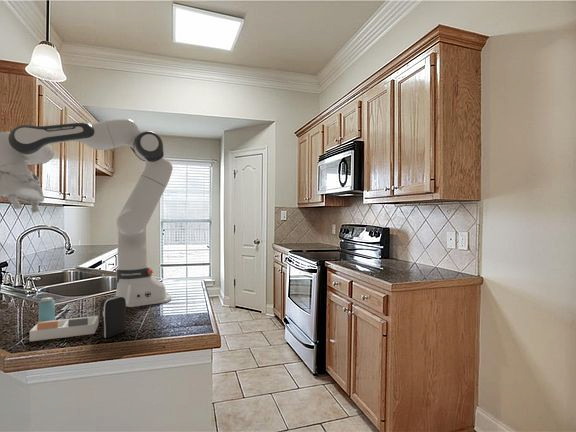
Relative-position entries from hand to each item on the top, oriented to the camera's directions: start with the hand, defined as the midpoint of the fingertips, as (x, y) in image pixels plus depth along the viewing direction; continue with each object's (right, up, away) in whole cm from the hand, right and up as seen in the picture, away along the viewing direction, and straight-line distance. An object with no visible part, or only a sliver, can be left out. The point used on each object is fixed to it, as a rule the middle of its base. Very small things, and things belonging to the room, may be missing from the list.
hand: (27, 210), depth 122 cm
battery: (+41, -39, -19) cm, 59 cm away
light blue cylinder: (+14, -38, -10) cm, 42 cm away
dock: (+25, -38, -17) cm, 49 cm away
